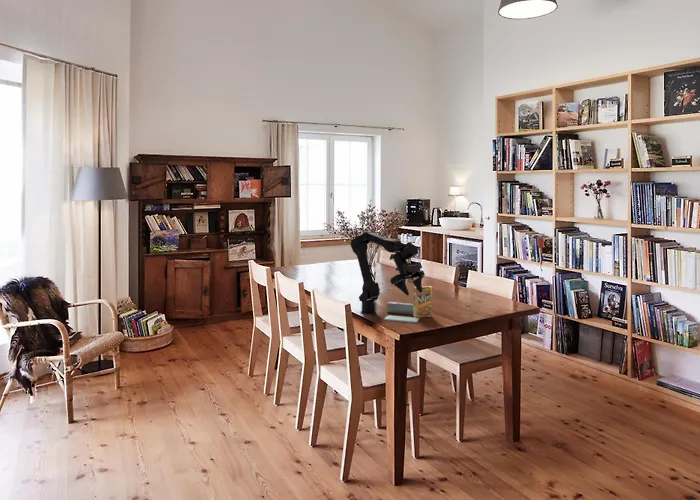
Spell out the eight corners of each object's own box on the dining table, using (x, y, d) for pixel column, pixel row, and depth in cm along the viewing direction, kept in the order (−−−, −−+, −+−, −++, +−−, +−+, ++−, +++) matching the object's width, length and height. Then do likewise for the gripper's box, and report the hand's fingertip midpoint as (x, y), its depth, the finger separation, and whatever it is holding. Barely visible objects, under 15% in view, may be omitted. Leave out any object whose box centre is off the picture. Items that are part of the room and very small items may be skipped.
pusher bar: (387, 312, 279) (387, 303, 279) (388, 311, 282) (388, 301, 281) (413, 314, 275) (413, 305, 274) (414, 313, 277) (415, 303, 277)
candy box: (415, 317, 268) (415, 287, 266) (412, 315, 272) (413, 285, 270) (432, 317, 269) (432, 286, 267) (429, 314, 274) (429, 285, 271)
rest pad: (384, 320, 263) (384, 318, 263) (388, 316, 270) (388, 315, 270) (416, 323, 258) (416, 321, 258) (419, 319, 265) (419, 318, 264)
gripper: (399, 258, 246) (412, 289, 242) (425, 254, 259) (438, 284, 254) (384, 269, 254) (397, 299, 250) (410, 264, 267) (423, 293, 262)
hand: (414, 293), depth 254 cm, fingers open, 9 cm apart
